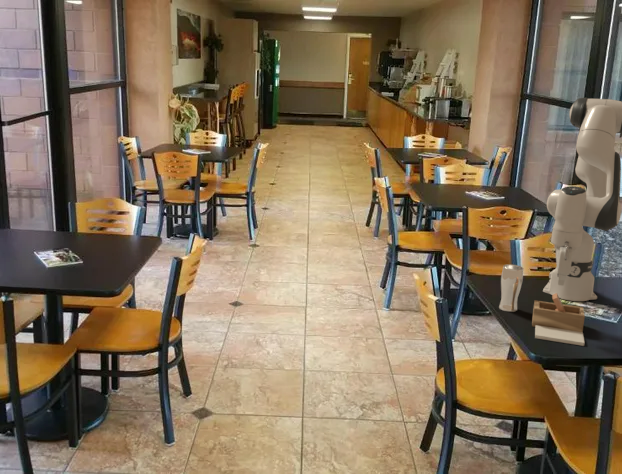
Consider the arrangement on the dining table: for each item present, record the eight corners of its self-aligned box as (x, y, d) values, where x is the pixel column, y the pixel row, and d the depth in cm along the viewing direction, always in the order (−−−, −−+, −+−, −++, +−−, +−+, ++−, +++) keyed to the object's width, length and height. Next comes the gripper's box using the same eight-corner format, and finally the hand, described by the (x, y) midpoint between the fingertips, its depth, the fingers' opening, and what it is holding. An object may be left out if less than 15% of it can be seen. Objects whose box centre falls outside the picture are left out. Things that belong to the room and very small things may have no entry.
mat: (535, 328, 208) (535, 325, 208) (582, 335, 204) (582, 332, 204) (535, 338, 200) (535, 335, 200) (584, 345, 196) (584, 342, 195)
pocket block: (532, 317, 218) (534, 300, 216) (580, 324, 213) (582, 307, 212) (531, 326, 209) (534, 308, 208) (581, 334, 205) (584, 316, 203)
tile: (548, 296, 213) (556, 293, 212) (563, 325, 213) (571, 322, 212) (549, 300, 208) (557, 297, 207) (564, 331, 208) (572, 328, 207)
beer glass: (500, 303, 229) (505, 263, 226) (520, 308, 226) (526, 266, 222) (495, 309, 223) (500, 267, 220) (515, 313, 220) (521, 271, 217)
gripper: (579, 247, 194) (572, 291, 197) (575, 233, 213) (569, 273, 216) (556, 244, 196) (550, 288, 199) (555, 230, 215) (549, 271, 218)
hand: (560, 280), depth 208 cm, fingers open, 8 cm apart
